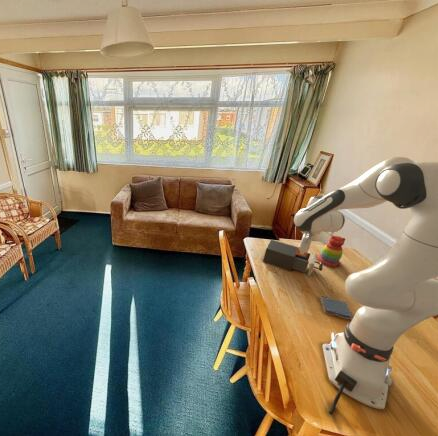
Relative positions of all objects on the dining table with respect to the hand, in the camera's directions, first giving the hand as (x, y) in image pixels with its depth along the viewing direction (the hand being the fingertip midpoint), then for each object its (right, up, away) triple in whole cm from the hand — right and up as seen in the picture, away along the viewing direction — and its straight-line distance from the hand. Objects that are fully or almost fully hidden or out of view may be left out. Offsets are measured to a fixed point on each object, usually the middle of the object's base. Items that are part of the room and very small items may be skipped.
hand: (302, 250), depth 117 cm
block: (0, -1, +1) cm, 2 cm away
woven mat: (+7, -25, -12) cm, 29 cm away
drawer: (+9, -12, +15) cm, 21 cm away
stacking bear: (+29, -10, +20) cm, 37 cm away
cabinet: (0, -9, +22) cm, 24 cm away
